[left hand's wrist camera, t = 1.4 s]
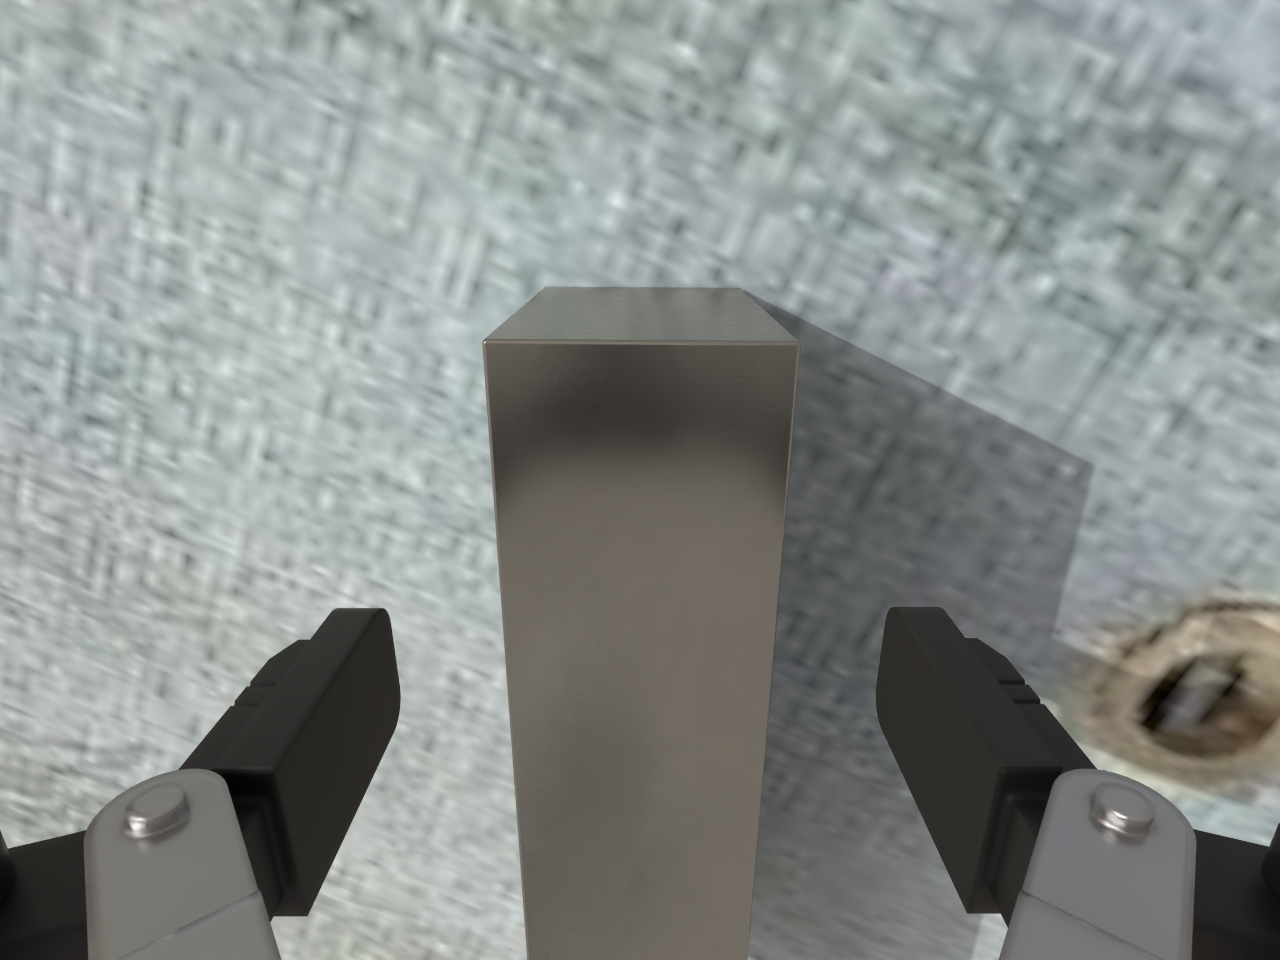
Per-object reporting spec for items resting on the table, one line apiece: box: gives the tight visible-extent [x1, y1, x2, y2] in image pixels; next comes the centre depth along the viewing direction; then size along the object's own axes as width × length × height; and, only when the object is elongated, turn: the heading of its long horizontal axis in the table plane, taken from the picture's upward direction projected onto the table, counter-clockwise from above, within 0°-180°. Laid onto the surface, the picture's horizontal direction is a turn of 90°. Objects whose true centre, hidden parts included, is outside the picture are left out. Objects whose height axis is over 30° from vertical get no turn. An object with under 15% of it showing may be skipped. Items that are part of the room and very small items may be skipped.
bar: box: [482, 287, 801, 960], centre depth 22 cm, size 25×6×9 cm, turn 0°
